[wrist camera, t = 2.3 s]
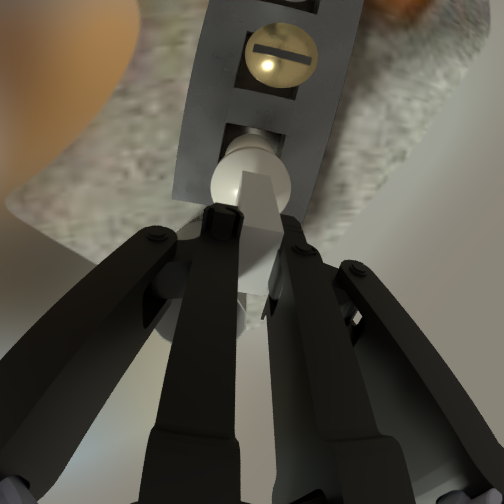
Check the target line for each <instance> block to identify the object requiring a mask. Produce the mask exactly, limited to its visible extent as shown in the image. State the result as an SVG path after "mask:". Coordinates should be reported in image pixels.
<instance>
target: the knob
mask: <svg viewBox="0 0 504 504" xmlns="http://www.w3.org/2000/svg"><path fill="white" fill-rule="evenodd" d="M242 170H243V171H248V172H253V173H258V174H263V175H268V176H270V177H271V181H272V185H273V189H274V193H275V197H276V201H277V205H278V209H279V213H281V212H282V211H283V209H284V208H285V207H286V205H287V203H288V201H289V198H290V194H291V181H290V177H289V174H288V172H287V170H286V168H285V166H284V164H283V163H282V161H281V160H280V159H279V158H278V157H277V156H276V155H275V153H274V151H273V149H272V147H271V145H270V143H269V142H268V141H267V140H266V139H264V138H263V137H261V136H259V135H255V134H244V135H241V136H239V137H237V138H235V139H234V140H233V141H232V142H231V143H230V144H229V146H228V148H227V150H226V153H225V156H224V157H223V158H222V159H221V161H220V162H219V163H218V165H217V166H216V169H215V171H214V174H213V176H212V180H211V196H212V199H213V202H214V203H215V202H217V203H223V204H228V205H234V206H235V203H236V198H237V193H238V188H239V184H240V179H241V175H242Z"/></svg>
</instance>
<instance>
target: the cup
mask: <svg viewBox="0 0 504 504" xmlns="http://www.w3.org/2000/svg"><path fill="white" fill-rule="evenodd" d="M201 226H202V220H200V221H195V222H190V223H188V224H187V225H185V226H184V227H183V228H182V229H180V230H179V231H178V232H177V233H176V234H177V237H178V240H188V239H194V238H196V237H198V236H200V232H201ZM182 299H183V298H180V299H173V300H172V303H171V305H170V307H169V308H168V310H167V311H166V313H165V314H164V315H163V317H162V318H161V320H160V321H159V323H158V324H157V326H156V327H155V328H154V330H155V331H156V332H157V333H158V334H159V336H160V337H161V338H162V339H164V340H166V341H168V342H169V343H171V344H172V341H173V337H174V332H175V328H176V324H177V320H178V316H179V312H180V307H181V303H182ZM245 329H246V293H243V292H238V300H237V335H236V342H237V340H238V339H239V337H240V336H241V335H242V333H243V332H244V331H245Z"/></svg>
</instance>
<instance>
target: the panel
mask: <svg viewBox="0 0 504 504" xmlns="http://www.w3.org/2000/svg"><path fill="white" fill-rule="evenodd" d="M363 3H364V0H315V3H314V7H313V11H312V13H309V12H305V11H302V10H298V9H294V8H290V7H286V6H282V5H277V4H273V3H268V2H263V1H258V0H210V1H209V4H208V8H207V11H206V15H205V19H204V23H203V26H202V30H201V34H200V38H199V43H198V47H197V51H196V55H195V60H194V64H193V69H192V74H191V79H190V84H189V89H188V94H187V99H186V104H185V110H184V115H183V121H182V127H181V133H180V140H179V146H178V153H177V160H176V167H175V175H174V183H173V191H172V199H174V200H180V201H186V202H192V203H198V204H203V205H209V206H210V205H212V204H214V202H213V199H212V196H211V180H212V176H213V174H214V171H215V169H216V166H217V165H218V163H219V161H220V156H221V151H222V146H223V141H224V136H225V131H226V126H227V123H232V124H238V125H243V126H248V127H253V128H257V129H262V130H267V131H271V132H276V133H280V134H281V137H280V141H279V145H278V149H277V153H276V156H277V157H278V158H279V159H280V160H281V161H282V163H283V164H284V166H285V168H286V170H287V172H288V174H289V177H290V181H291V194H290V198H289V201H288V203H287V205H286V207H285V208H284V209H283V211H282V212H281V213H280V214H284V215H289V216H294V217H295V218H296V219H297V220H298V221H299V222H300V223H302V224H303V221H304V218H305V214H306V211H307V208H308V205H309V202H310V199H311V195H312V192H313V189H314V186H315V182H316V179H317V176H318V173H319V169H320V166H321V163H322V159H323V156H324V152H325V149H326V146H327V142H328V139H329V135H330V132H331V128H332V125H333V121H334V118H335V114H336V110H337V107H338V103H339V99H340V96H341V92H342V88H343V85H344V81H345V77H346V73H347V69H348V65H349V61H350V58H351V54H352V50H353V45H354V41H355V37H356V33H357V29H358V25H359V20H360V16H361V12H362V7H363ZM272 23H288V24H292V25H295V26H297V27H299V28H301V29H302V30H304V31H305V32H306V33H307V34H308V35H309V36H310V37H311V38H312V39H313V41H314V43H315V45H316V48H317V51H318V62H317V66H316V69H315V71H314V72H313V74H312V75H311V76H310V77H309V78H308V79H307V80H306V81H305V82H303V83H301V84H299V85H297V86H294V87H293V90H292V94H291V98H290V99H286V98H282V97H278V96H274V95H269V94H265V93H260V92H255V91H250V90H245V89H240V88H235V85H236V80H237V76H238V72H239V68H240V63H241V59H242V55H243V51H244V47H245V43H246V39H247V37H249V38H250V37H251V36H252V35H253V33H254V32H256V31H257V30H258V29H260V28H261V27H263V26H265V25H268V24H272Z"/></svg>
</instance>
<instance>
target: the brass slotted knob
mask: <svg viewBox="0 0 504 504" xmlns="http://www.w3.org/2000/svg"><path fill="white" fill-rule="evenodd" d="M245 59H246V64H247V67H248V69H249V71H250V73H251V74H252V75H253V76H254V77H255V78H256V79H257V80H258V81H260V82H261V83H263V84H265V85H267V86H271V87H275V88H289V87H294V86H297V85H299V84H301V83H303V82H305V81H306V80H307V79H308V78H309V77H310V76H311V75H312V74H313V72H314V71H315V69H316V66H317V62H318V51H317V48H316V45H315V43H314V41H313V39H312V38H311V37H310V36H309V35H308V34H307V33H306V32H305V31H304V30H302V29H301V28H299V27H297V26H295V25H292V24H288V23H272V24H268V25H265V26H263V27H261V28H260V29H258V30H257V31H256V32H254V33H253V35H252V36H251V37H250V39H249V40H248V42H247V45H246V49H245Z"/></svg>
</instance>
